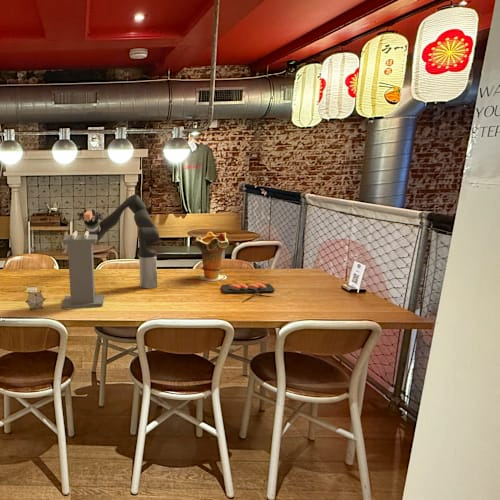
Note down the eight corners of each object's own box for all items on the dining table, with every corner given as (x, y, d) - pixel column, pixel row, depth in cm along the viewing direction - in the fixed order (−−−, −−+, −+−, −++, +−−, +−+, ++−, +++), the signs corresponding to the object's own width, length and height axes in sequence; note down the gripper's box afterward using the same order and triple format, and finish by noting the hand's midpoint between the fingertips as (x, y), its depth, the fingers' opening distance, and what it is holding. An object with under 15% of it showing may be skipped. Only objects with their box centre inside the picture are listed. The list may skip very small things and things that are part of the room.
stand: (104, 295, 212) (101, 230, 206) (102, 306, 196) (99, 235, 190) (66, 298, 207) (62, 230, 201) (61, 309, 191) (56, 236, 185)
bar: (87, 216, 231) (87, 210, 231) (92, 216, 232) (92, 210, 232) (84, 220, 210) (83, 214, 210) (90, 220, 211) (90, 214, 211)
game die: (31, 316, 191) (17, 300, 189) (46, 305, 197) (32, 289, 195) (38, 311, 185) (23, 294, 183) (53, 300, 191) (39, 283, 189)
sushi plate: (269, 286, 240) (270, 280, 240) (282, 302, 211) (283, 295, 211) (220, 287, 235) (220, 281, 235) (226, 304, 206) (226, 296, 206)
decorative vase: (190, 280, 244) (191, 233, 240) (199, 273, 267) (200, 230, 263) (224, 283, 242) (226, 235, 238) (231, 275, 265) (232, 231, 261)
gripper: (104, 229, 242) (102, 217, 227) (78, 229, 238) (75, 217, 223) (104, 217, 245) (102, 204, 229) (78, 217, 241) (75, 204, 225)
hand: (89, 210), depth 226 cm, fingers closed on bar, 3 cm apart
